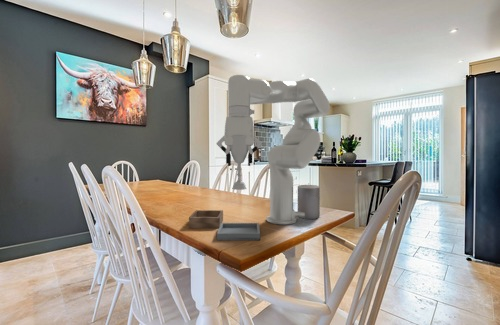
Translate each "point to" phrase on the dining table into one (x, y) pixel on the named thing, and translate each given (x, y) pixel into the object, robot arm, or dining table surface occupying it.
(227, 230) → the tray
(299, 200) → the pillar candle
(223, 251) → the dining table surface
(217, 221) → the brown square frame
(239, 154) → the chalice
